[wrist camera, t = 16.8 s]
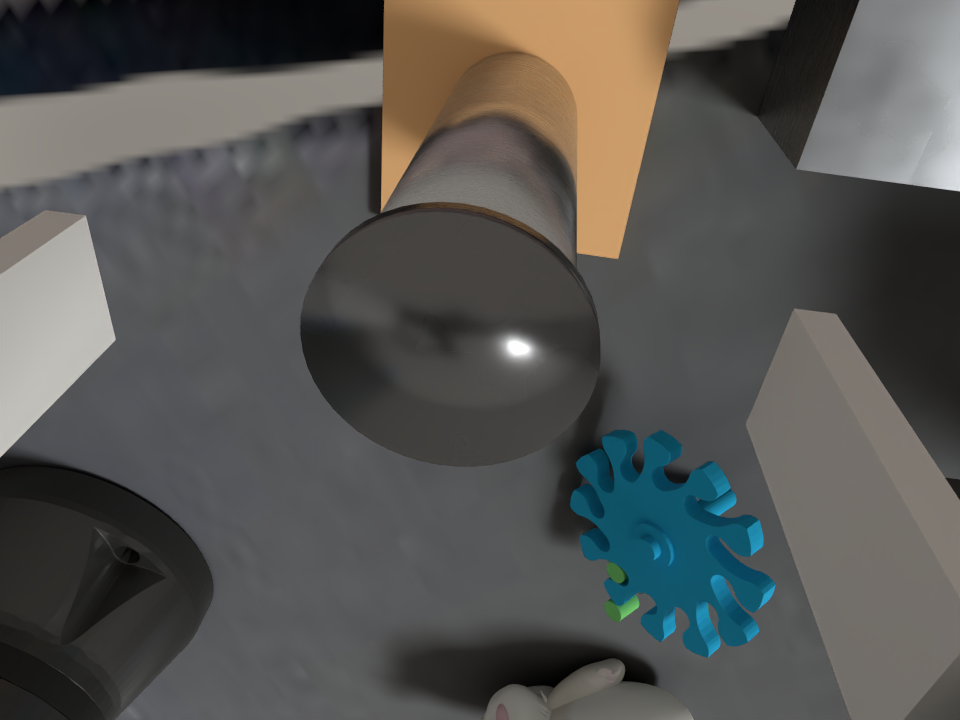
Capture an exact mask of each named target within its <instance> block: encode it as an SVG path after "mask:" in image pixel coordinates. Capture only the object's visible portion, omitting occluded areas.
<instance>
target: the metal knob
mask: <svg viewBox="0 0 960 720" xmlns="http://www.w3.org/2000/svg"><path fill="white" fill-rule="evenodd" d="M577 125H578V121H577V107H576V102H575V99H574V95H573V93H572V91H571V88H570V86H569V85H568V83H567V81H566V80H565V78H564V77H563V76H562V75H561V74H560V72H559V71H558V70H556V69H555V68H554V67H553V66H552V65H551V64H549V63H548V62H546V61H545V60H543V59H541V58H539V57H537V56H534V55H531V54H527V53H523V52H501V53H497V54H493V55H490V56H488V57H485V58H483V59H482V60H480V61H478V62H476V63H475V64H474V65H472V66H471V67H470V68H469V69H468V70H467V71H466V72H465V73H464V74H463V75H462V77H461V78H460V79H459V81H458V82H457V84H456V86H455V87H454V89H453V91H452V92H451V94H450V96H449V98H448V99H447V101H446V103H445V104H444V106H443V108H442V109H441V111H440V113H439V115H438V116H437V118H436V120H435V121H434V123H433V125H432V126H431V128H430V130H429V132H428V133H427V135H426V137H425V138H424V140H423V142H422V143H421V145H420V147H419V149H418V150H417V152H416V154H415V155H414V157H413V159H412V160H411V162H410V164H409V166H408V167H407V169H406V171H405V172H404V174H403V176H402V177H401V179H400V181H399V182H398V184H397V186H396V188H395V189H394V191H393V193H392V194H391V196H390V198H389V199H388V201H387V203H386V205H385V206H384V208H383V210H382V211H381V213H380V214H379V215H377V216H375V217H373V218H371V219H368V220H366V221H365V222H363V223H362V224H360V225H359V226H357V227H356V228H354V229H353V230H351V231H350V232H349V233H348V234H347V235H346V236H345V237H344V238H342V239H341V240H340V241H339V242H338V243H337V244H336V245H335V247H334V248H333V249H332V251H331V252H330V253H329V254H328V256H327V257H326V258H325V260H324V262H323V263H322V265H321V266H320V268H319V269H318V271H317V272H316V274H315V276H314V278H313V280H312V281H311V283H310V285H309V287H308V290H307V293H306V296H305V299H304V302H303V308H302V313H301V341H302V349H303V353H304V356H305V360H306V363H307V366H308V369H309V371H310V373H311V375H312V378H313V380H314V382H315V383H316V385H317V387H318V388H319V390H320V392H321V393H322V395H323V396H324V398H325V399H326V400H327V401H328V403H329V404H330V405H331V406H332V408H333V409H334V410H335V411H336V412H337V413H338V414H339V415H340V416H341V417H342V418H343V419H344V420H345V421H346V422H347V423H349V424H350V425H351V426H352V427H353V428H355V429H356V430H357V431H358V432H360V433H361V434H363V435H364V436H366V437H367V438H369V439H370V440H372V441H374V442H375V443H377V444H379V445H381V446H383V447H385V448H387V449H389V450H391V451H394V452H396V453H399V454H401V455H403V456H406V457H410V458H413V459H416V460H420V461H424V462H429V463H433V464H438V465H448V466H471V467H473V466H484V465H493V464H498V463H503V462H508V461H511V460H514V459H517V458H521V457H523V456H526V455H528V454H530V453H533V452H535V451H537V450H539V449H541V448H542V447H544V446H546V445H547V444H549V443H551V442H552V441H554V440H555V439H556V438H558V437H559V436H560V435H561V434H563V433H564V432H565V431H566V430H567V429H568V428H569V427H570V426H571V425H572V424H573V423H574V422H575V421H576V420H577V418H578V417H579V415H580V414H581V413H582V411H583V410H584V409H585V407H586V405H587V403H588V401H589V399H590V397H591V395H592V394H593V391H594V388H595V385H596V382H597V379H598V373H599V367H600V330H599V323H598V317H597V311H596V308H595V305H594V302H593V299H592V296H591V294H590V292H589V290H588V288H587V286H586V284H585V282H584V280H583V278H582V277H581V275H580V274H579V272H578V271H577Z"/></svg>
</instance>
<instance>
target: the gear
mask: <svg viewBox="0 0 960 720" xmlns="http://www.w3.org/2000/svg"><path fill="white" fill-rule="evenodd" d="M602 444H603V448H604V450H605V452H606V453H607V455H608V457H609V459H610V462H611V465H612V468H613V472H614V482H613V481H612V479H611V477H610V474H609V461H608V458H607V455H606V454H605V452H604V451H603V450H602V449H597V450H595V451H593V452H591V453H589V454H587V455H585V456H583V457H581V458H580V459H579V460H578V461H577V462H576V466H577V468H578V470H579V472H580V473H581V474H582V476H584V477H585V478H586V479H587V480H588V481H589V482H590V483H591V485H592V486H593V487H594V488H593V487H592V486H591V485H589V484H585V485H583V486H581V487H579V488H577V489H575V490H574V491H573V493H572V496H571V501H570V507H571V508H572V510H573V511H574V512H575V513H576V514H578V515H580V516H583V517H586V518H588V519H589V520H591V521H592V522H593V523H594V524H595V525H597V527H598V528H599V529H600V530H599V529H597V528H593V529H591V530H589V531H587V532H586V533H584V534H582V535H581V536H580V541H581V547H582V551H583V554H584V556H585V557H586V558H587V559H589V560H591V561H594V560H597V559H605V560H608V561H611V562H609V563H608V564H607V572H608V574H609V576H610V578H608V579H607V580H606V581H605V582H604V585H605V588H606V590H607V592H608V594H609V595H610V597H611V599H610V600H608V601H607V602H605V605H604V606H605V611H606V613H607V615H608V616H609V617H610V618H611V619H612V620H613V621H615V622H619V621H620V620H622V619H623V618H625V617H626V616H627V615H629V614H630V613H631V612H633V611H634V610H635V609H637V608H638V607H639V600H638V598H637V596H636V593H639V594H644V593H646V594H648V595H650V596H651V597H652V598H653V600H654V601H655V603H656V605H657V606H655V607H653V608H652V609H651V610H649V611H648V612H647V613H645V614H644V615H643V616H642V617H641V624H642V626H643V627H644V628H645V629H646V630H647V632H648V633H649V634H651V635H652V636H653V637H654V638H655V639H656V640H658V641H659V642H661V641H662V640H664V639H665V638H666V637H668V636H669V635H670V634H671V633H673V632H674V631H675V628H676V624H675V615H674V614H675V609H676V607H679V608H681V609H682V610H683V611H684V612H685V613H686V614H687V616H688V618H689V621H690V626H689V628H688V629H687V630H686V631H685V632H684V633H683V642H684V645H685V647H686V648H687V649H688V650H690V651H692V652H693V653H695V654H698V655H701V656H704V657H709V656H710V655H711V654H712V653H713V652H715V651H716V650H717V649H718V648H719V647H720V638H719V635H718V633H717V632H716V630H715V628H714V626H713V624H712V622H711V619H710V616H709V611H708V603H710V604H711V605H712V606H713V607H714V608H715V610H716V611H717V614H718V618H719V621H718V630H719V634H720V636H721V638H722V639H723V641H724V642H725V643H726V644H727V645H728V646H740V645H743V644H745V643H747V642H749V641H750V640H751V639H752V638H753V637H754V636H755V635H756V634H757V633H759V628H758V625H757V623H756V622H755V620H754V619H753V618H752V617H751V616H750V615H749V614H748V613H747V612H745V611H744V610H743V609H742V608H741V607H740V605H739V604H738V603H737V602H736V600H735V599H734V597H733V596H732V594H731V593H730V591H729V588H728V586H727V584H726V582H725V579H724V578H726V579H727V580H728V581H729V582H730V584H731V585H732V587H733V590H734V592H735V594H736V597H737V599H738V600H739V602H740V603H741V604H742V605H743V607H745V608H746V609H747V610H749V611H751V612H753V613H754V612H755V611H757V610H758V609H759V608H760V607H761V606H763V605H764V604H765V603H766V602H767V601H768V600H769V599H770V598H771V597H772V594H773V592H774V589H775V586H776V584H775V583H774V581H773V580H772V579H771V578H770V577H769V576H767V575H766V574H764V573H762V572H760V571H756V570H754V569H751V568H749V567H747V566H746V565H744V564H742V563H741V562H740V561H738V560H737V559H736V558H735V557H734V556H733V555H732V554H731V553H730V552H729V551H728V550H727V549H726V548H725V547H724V546H723V545H722V543H721V542H720V540H719V538H721V539H722V540H723V541H724V542H725V543H726V544H727V545H728V546H729V547H730V548H731V549H732V550H733V551H734V552H735V553H737V554H738V555H741V556H744V557H748V556H751V555H752V554H754V553H755V552H756V551H758V550H759V549H760V548H761V547H763V533H762V528H761V525H760V521H759V520H758V519H757V518H755V517H753V516H751V515H742V516H740V517H736V518H725V517H720V516H719V515H721V514H722V513H723V512H725V511H726V510H728V509H729V508H731V507H732V506H734V505H735V504H736V496H735V494H734V492H733V491H732V490H731V489H730V484H729V482H728V480H727V478H726V476H725V474H724V473H723V472H722V470H721V469H720V468H719V466H718V465H717V464H716V463H715V462H713V461H710V462H707V463H705V464H704V465H702V466H700V467H699V468H697V469H695V470H694V471H692V472H691V474H690V476H689V479H688V480H687V482H686V483H680V484H675V483H672V482H671V481H669V480H668V479H667V477H666V476H665V474H664V470H663V466H665V465H667V464H669V463H670V462H672V461H674V460H676V459H677V458H679V457H680V456H681V454H682V445H681V444H680V443H679V442H678V441H677V440H676V439H675V438H674V437H672V436H671V435H669V434H667V433H666V432H664V431H662V430H660V431H658V432H656V433H654V434H652V435H651V436H649V437H647V438H646V439H645V441H644V444H643V449H644V456H645V462H644V468H643V471H642V473H641V474H639V473H638V472H637V471H636V470H635V469H634V467H633V465H632V456H633V455H634V453H635V452H636V450H637V448H638V441H637V437H636V435H635V433H633V432H631V431H627V430H615V431H613V432H611V433H609V434H607V435H605V436H603V438H602ZM696 497H697V498H700V499H701V500H699V501H697V499H696ZM600 500H601V501H600ZM601 502H602V503H601Z"/></svg>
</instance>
